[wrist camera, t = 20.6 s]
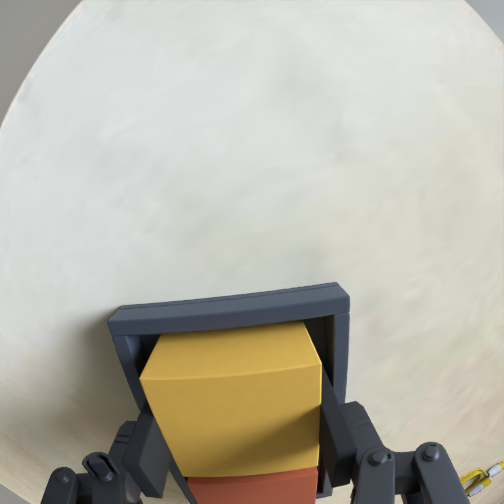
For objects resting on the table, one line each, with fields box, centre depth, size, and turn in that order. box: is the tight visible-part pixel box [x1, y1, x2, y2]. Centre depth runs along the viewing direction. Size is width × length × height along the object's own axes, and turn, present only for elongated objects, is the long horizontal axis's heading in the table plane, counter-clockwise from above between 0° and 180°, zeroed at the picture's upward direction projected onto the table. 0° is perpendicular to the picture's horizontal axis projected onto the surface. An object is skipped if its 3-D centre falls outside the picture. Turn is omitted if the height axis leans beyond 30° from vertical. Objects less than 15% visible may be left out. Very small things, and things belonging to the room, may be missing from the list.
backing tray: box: [108, 282, 350, 504], centre depth 15 cm, size 18×11×2 cm, turn 6°
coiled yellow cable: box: [460, 461, 504, 497], centre depth 22 cm, size 12×16×2 cm
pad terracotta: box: [187, 466, 318, 504], centre depth 14 cm, size 7×7×4 cm
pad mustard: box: [139, 319, 322, 477], centre depth 13 cm, size 7×7×4 cm
